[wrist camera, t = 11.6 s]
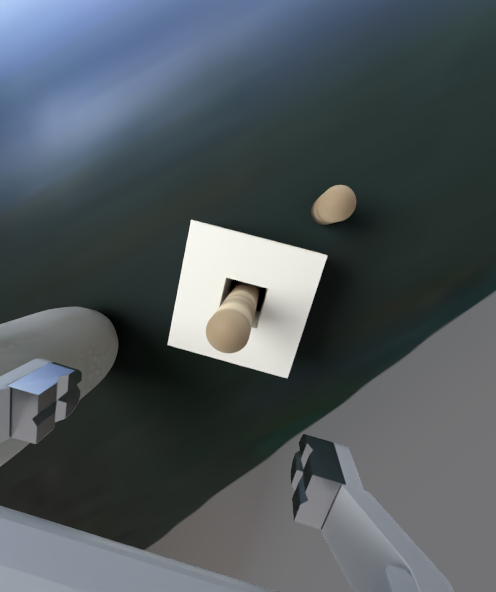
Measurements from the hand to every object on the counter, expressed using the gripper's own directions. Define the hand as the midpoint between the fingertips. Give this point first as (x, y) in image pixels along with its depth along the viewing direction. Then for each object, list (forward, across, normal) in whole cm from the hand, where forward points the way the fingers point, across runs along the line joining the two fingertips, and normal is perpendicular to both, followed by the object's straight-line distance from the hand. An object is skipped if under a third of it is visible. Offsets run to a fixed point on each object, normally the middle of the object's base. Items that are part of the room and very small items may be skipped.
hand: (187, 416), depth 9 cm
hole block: (+22, 0, 0) cm, 22 cm away
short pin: (+22, -6, -11) cm, 26 cm away
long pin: (+22, 0, 0) cm, 22 cm away
